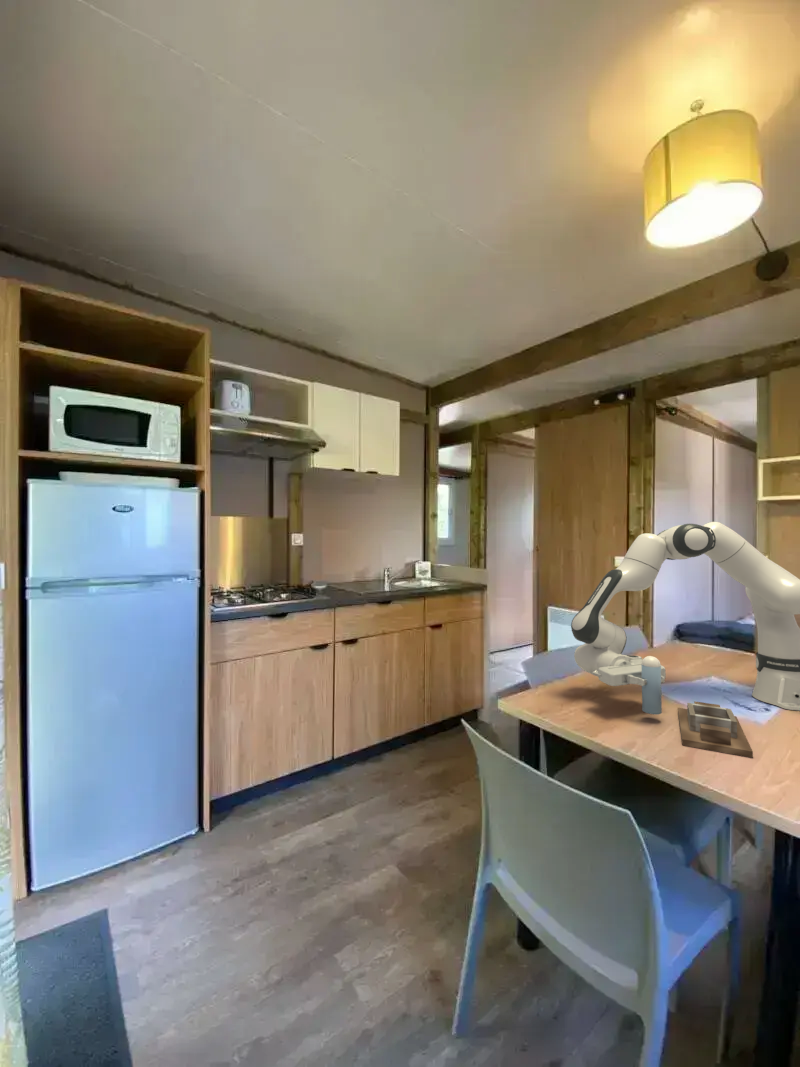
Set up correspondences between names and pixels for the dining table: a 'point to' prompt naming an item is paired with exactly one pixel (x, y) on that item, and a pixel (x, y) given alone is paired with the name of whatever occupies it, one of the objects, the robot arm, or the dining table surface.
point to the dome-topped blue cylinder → (651, 685)
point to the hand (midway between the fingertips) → (654, 681)
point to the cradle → (712, 729)
